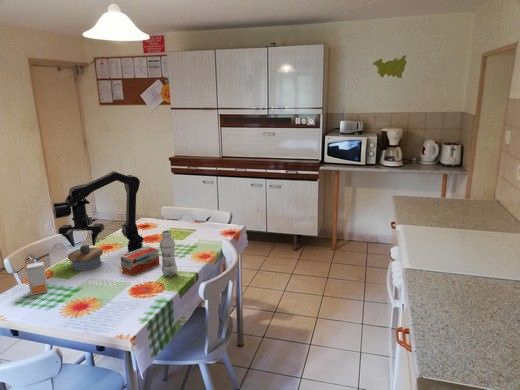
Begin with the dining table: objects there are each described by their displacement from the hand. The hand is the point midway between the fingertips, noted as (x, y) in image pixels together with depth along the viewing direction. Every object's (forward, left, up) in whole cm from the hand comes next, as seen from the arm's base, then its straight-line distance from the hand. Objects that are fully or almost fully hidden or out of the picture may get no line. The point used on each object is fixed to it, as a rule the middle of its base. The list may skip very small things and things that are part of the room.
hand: (84, 246), depth 178 cm
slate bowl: (0, 0, -10) cm, 10 cm away
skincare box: (+10, +25, -10) cm, 29 cm away
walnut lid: (0, 0, -4) cm, 5 cm away
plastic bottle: (-41, +15, -10) cm, 45 cm away
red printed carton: (-27, +6, -10) cm, 29 cm away
